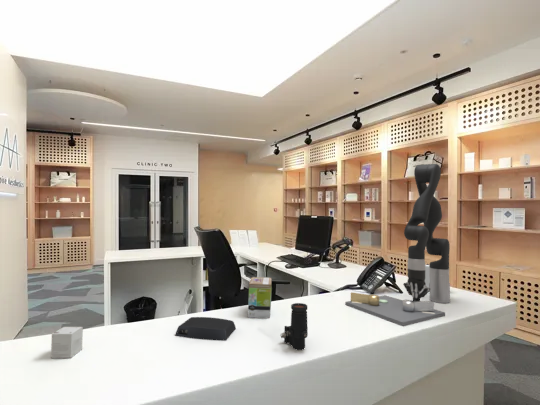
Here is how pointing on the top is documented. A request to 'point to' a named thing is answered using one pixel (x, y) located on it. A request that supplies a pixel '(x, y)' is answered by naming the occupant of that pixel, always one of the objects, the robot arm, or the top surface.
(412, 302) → the chrome lever handle
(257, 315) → the tea box
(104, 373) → the top surface
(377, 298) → the brass door handle
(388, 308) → the board
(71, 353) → the skincare box
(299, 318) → the scope
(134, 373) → the top surface
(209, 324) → the external hard drive
